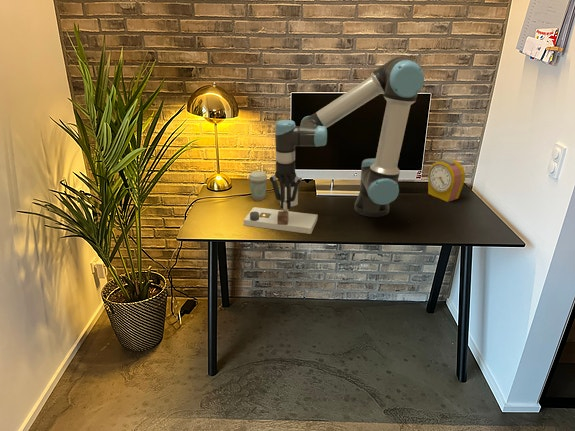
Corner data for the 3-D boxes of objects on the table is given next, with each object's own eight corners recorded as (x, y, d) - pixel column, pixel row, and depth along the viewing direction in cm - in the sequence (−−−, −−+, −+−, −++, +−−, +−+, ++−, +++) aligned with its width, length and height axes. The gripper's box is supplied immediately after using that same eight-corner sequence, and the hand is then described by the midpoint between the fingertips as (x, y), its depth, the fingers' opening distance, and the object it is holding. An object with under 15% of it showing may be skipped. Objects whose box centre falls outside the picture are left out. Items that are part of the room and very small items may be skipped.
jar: (285, 208, 201) (285, 183, 196) (275, 202, 207) (275, 177, 202) (301, 204, 206) (302, 179, 200) (291, 198, 212) (292, 174, 207)
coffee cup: (250, 202, 207) (250, 177, 202) (247, 195, 214) (247, 171, 209) (269, 200, 209) (269, 176, 204) (265, 193, 216) (265, 170, 211)
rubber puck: (260, 217, 187) (260, 212, 186) (257, 221, 184) (257, 215, 183) (251, 216, 188) (251, 211, 187) (248, 220, 185) (248, 214, 184)
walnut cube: (288, 220, 185) (288, 211, 183) (287, 224, 181) (287, 215, 179) (278, 220, 185) (278, 211, 183) (277, 224, 181) (277, 215, 180)
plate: (317, 220, 191) (317, 214, 190) (310, 233, 180) (311, 228, 179) (253, 212, 197) (253, 207, 196) (243, 225, 186) (243, 219, 185)
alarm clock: (424, 192, 219) (429, 156, 211) (435, 189, 223) (441, 153, 215) (449, 203, 208) (456, 165, 200) (461, 199, 212) (468, 162, 204)
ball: (259, 215, 191) (265, 220, 192) (257, 218, 188) (263, 223, 189) (264, 210, 190) (270, 215, 190) (262, 213, 187) (268, 218, 187)
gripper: (304, 159, 178) (303, 213, 188) (272, 156, 181) (273, 210, 192) (299, 165, 172) (299, 221, 182) (266, 162, 175) (268, 217, 185)
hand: (285, 215), depth 187 cm, fingers closed
